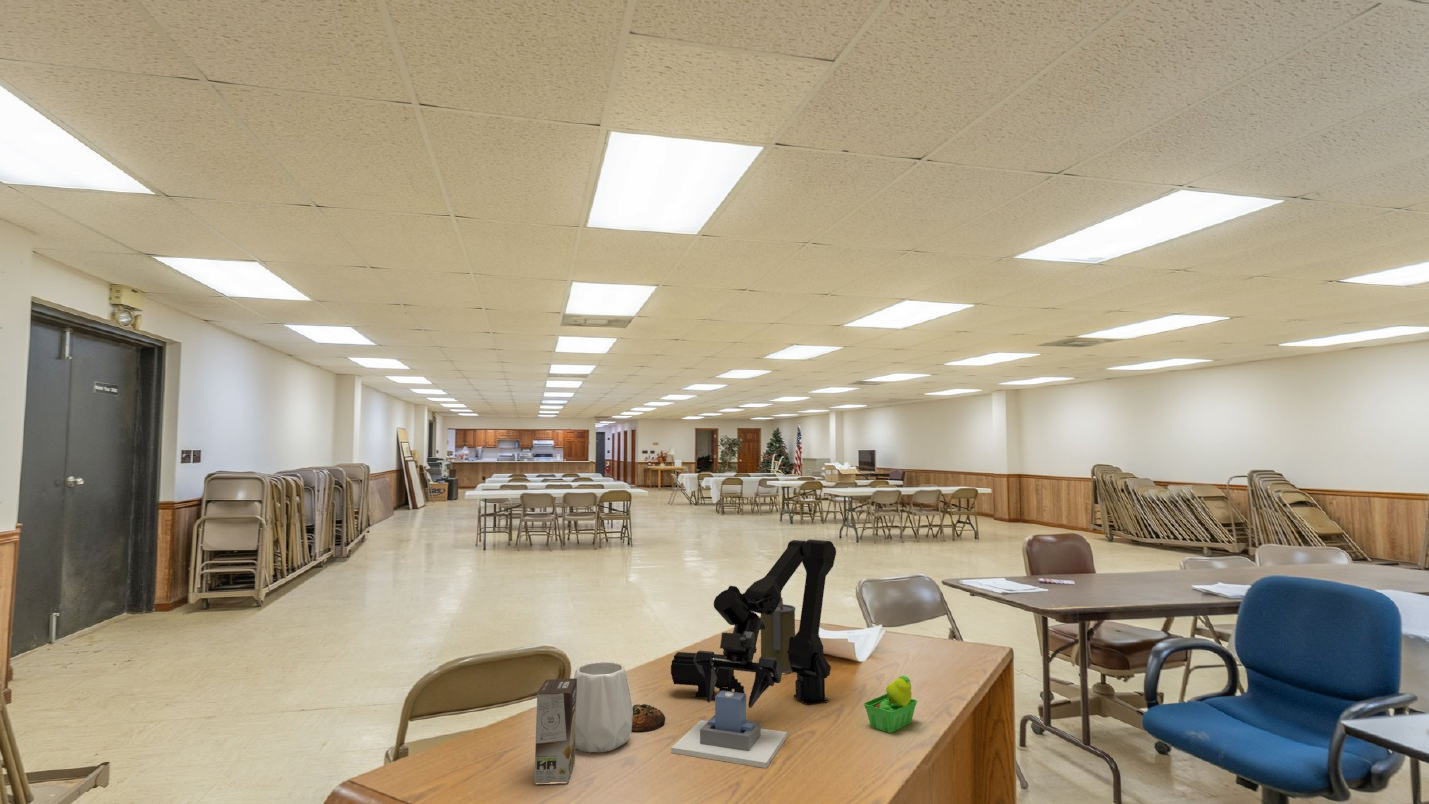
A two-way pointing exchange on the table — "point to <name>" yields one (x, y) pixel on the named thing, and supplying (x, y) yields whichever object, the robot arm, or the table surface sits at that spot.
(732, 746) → the plate
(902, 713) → the fruit basket
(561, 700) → the coffee box
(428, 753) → the table surface
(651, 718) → the bread roll
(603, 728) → the vase
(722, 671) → the security camera
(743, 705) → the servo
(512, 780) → the table surface
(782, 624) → the canister
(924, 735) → the table surface
